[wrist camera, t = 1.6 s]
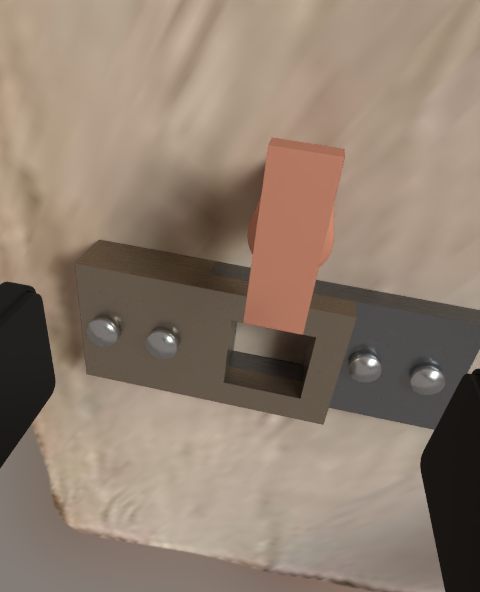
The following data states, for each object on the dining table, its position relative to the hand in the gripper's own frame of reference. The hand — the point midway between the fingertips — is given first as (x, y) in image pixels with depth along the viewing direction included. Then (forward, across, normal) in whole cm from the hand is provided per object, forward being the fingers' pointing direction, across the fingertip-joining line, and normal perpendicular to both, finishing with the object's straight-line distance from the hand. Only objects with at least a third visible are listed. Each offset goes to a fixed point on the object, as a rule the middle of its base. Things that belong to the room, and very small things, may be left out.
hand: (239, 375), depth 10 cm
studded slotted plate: (+15, -1, +10) cm, 18 cm away
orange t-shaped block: (+15, -1, 0) cm, 15 cm away
